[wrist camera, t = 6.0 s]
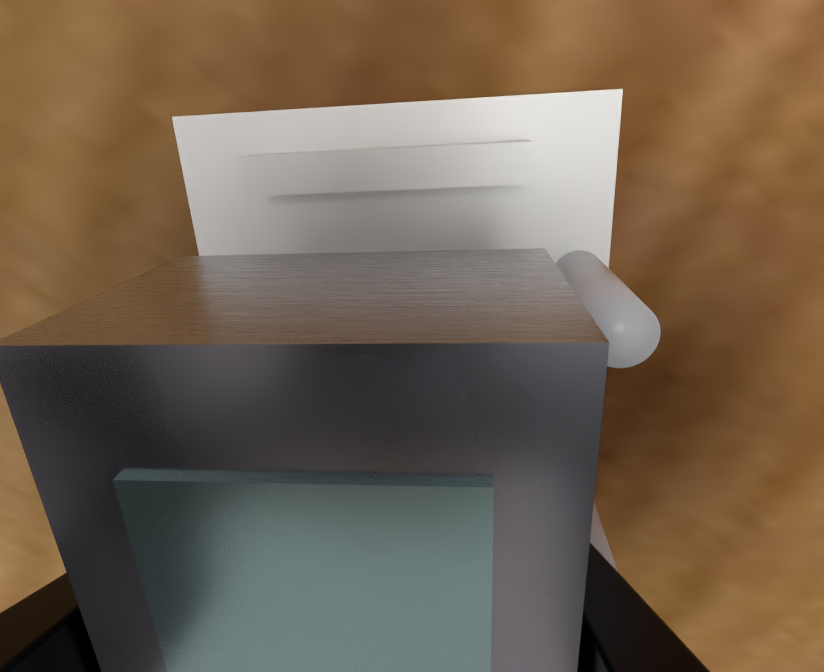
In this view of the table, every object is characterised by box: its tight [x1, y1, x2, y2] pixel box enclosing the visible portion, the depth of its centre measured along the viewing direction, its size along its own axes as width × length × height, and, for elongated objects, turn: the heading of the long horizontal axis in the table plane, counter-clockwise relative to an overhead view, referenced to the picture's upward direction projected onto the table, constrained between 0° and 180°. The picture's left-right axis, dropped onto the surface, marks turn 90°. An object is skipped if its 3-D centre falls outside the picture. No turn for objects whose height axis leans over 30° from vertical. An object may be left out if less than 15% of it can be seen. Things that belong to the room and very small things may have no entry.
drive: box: [0, 248, 609, 672], centre depth 8 cm, size 6×9×4 cm, turn 2°
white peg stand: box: [172, 89, 661, 572], centre depth 13 cm, size 10×14×5 cm
